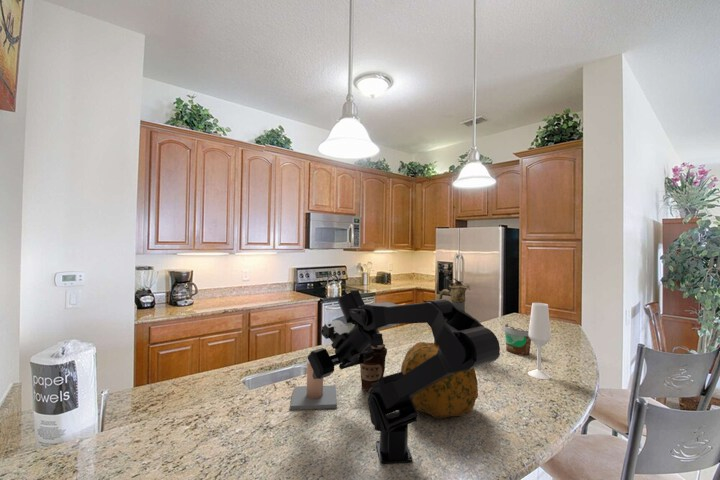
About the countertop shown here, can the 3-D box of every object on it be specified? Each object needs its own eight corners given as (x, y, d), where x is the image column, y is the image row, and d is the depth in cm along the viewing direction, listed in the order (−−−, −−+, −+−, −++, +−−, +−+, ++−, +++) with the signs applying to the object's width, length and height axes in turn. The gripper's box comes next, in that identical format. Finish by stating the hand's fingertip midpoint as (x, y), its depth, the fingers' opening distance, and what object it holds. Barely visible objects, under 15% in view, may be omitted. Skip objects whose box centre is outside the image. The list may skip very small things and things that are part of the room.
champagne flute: (530, 377, 104) (531, 305, 105) (525, 369, 111) (526, 301, 111) (553, 380, 102) (554, 306, 103) (547, 372, 109) (548, 303, 109)
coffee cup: (384, 396, 89) (385, 350, 89) (355, 393, 91) (356, 348, 91) (387, 383, 97) (388, 341, 98) (361, 380, 99) (362, 339, 99)
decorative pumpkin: (398, 423, 74) (403, 337, 76) (399, 390, 95) (403, 323, 97) (487, 436, 71) (491, 346, 73) (468, 399, 92) (471, 329, 94)
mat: (336, 408, 82) (336, 404, 82) (290, 409, 81) (290, 405, 81) (335, 388, 93) (335, 385, 93) (294, 389, 92) (294, 386, 92)
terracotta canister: (320, 400, 84) (321, 362, 84) (303, 398, 85) (304, 361, 85) (325, 391, 89) (326, 356, 89) (309, 390, 90) (310, 355, 90)
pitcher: (461, 362, 116) (462, 281, 116) (428, 346, 133) (429, 276, 134) (482, 358, 121) (484, 280, 121) (448, 343, 138) (449, 275, 138)
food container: (496, 348, 133) (496, 324, 133) (506, 346, 136) (506, 323, 136) (522, 358, 122) (522, 332, 122) (532, 356, 125) (533, 331, 125)
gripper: (366, 307, 87) (338, 339, 94) (313, 317, 73) (285, 353, 81) (388, 342, 81) (357, 373, 89) (335, 360, 68) (303, 395, 75)
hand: (327, 372), depth 84 cm, fingers open, 9 cm apart
